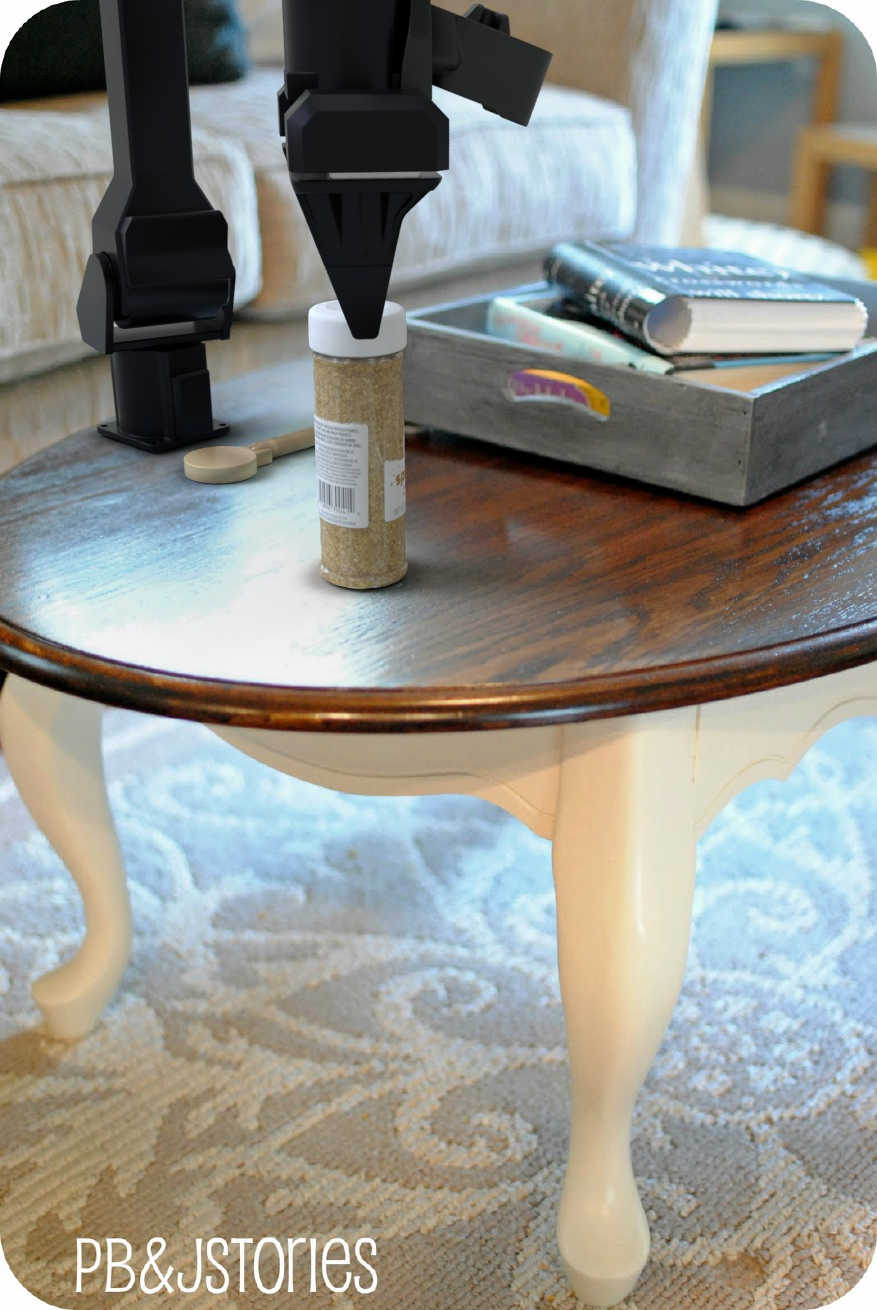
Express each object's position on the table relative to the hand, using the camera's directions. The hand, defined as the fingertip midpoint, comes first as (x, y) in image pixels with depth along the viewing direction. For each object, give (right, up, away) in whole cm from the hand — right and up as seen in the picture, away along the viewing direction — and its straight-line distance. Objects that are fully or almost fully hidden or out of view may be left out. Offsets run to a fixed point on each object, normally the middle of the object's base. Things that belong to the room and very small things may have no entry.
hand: (357, 316), depth 63 cm
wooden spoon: (-6, -3, +24) cm, 25 cm away
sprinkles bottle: (0, -12, +6) cm, 13 cm away
